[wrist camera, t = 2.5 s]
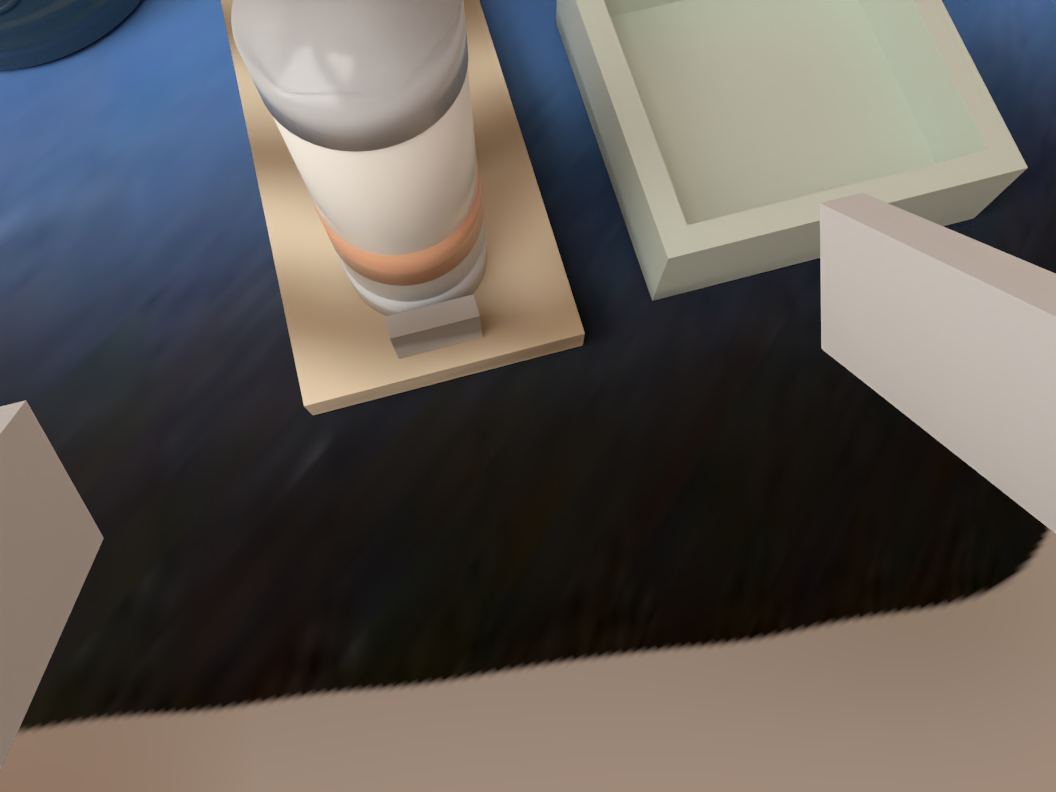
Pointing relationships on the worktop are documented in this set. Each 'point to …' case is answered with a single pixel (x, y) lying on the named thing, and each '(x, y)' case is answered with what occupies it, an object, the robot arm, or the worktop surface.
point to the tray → (778, 123)
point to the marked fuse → (378, 136)
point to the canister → (54, 28)
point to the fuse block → (432, 331)
